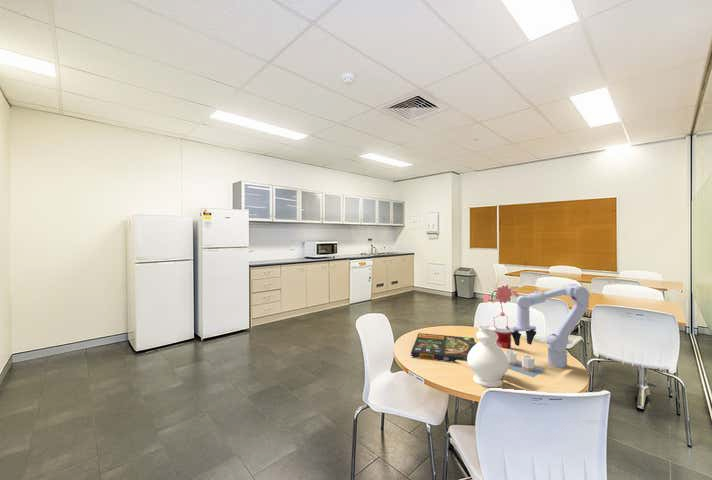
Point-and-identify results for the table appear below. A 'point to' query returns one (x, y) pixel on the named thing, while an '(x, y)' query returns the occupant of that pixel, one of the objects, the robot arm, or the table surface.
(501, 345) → the canned food
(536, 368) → the pin board
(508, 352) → the seated sleeve
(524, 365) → the sleeve
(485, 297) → the potted flower
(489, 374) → the decorative vase
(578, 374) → the table surface
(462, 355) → the pizza box
